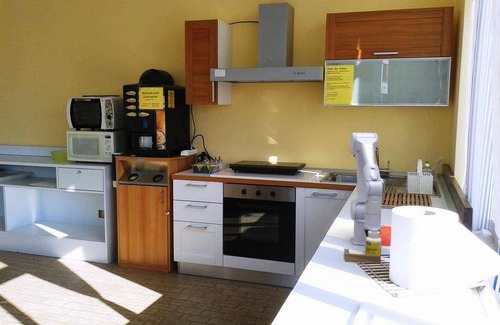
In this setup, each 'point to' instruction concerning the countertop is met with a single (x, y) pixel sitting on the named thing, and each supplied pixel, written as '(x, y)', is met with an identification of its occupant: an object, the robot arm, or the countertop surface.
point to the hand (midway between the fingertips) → (371, 249)
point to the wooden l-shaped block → (361, 257)
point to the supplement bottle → (373, 244)
